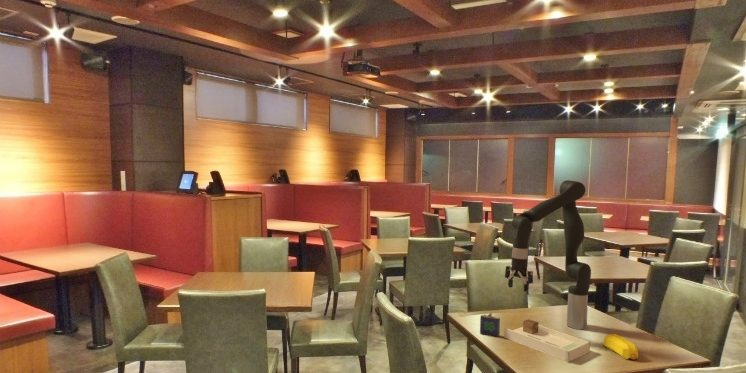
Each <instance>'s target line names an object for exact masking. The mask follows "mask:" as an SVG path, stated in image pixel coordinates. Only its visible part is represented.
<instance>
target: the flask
mask: <svg viewBox="0 0 746 373" xmlns="http://www.w3.org/2000/svg"><path fill="white" fill-rule="evenodd" d="M492 315H493V313H492V312H489V313H488V314H481V315H480V321H479V323H480V324H479V334H480V335H483V336H486V337H487V336H488V337H489V336H490V337H496V338H497V337H498V338H499V337H500V332H501V331H500V330H501V326H500V325H501V317H500V316H492Z"/></svg>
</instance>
